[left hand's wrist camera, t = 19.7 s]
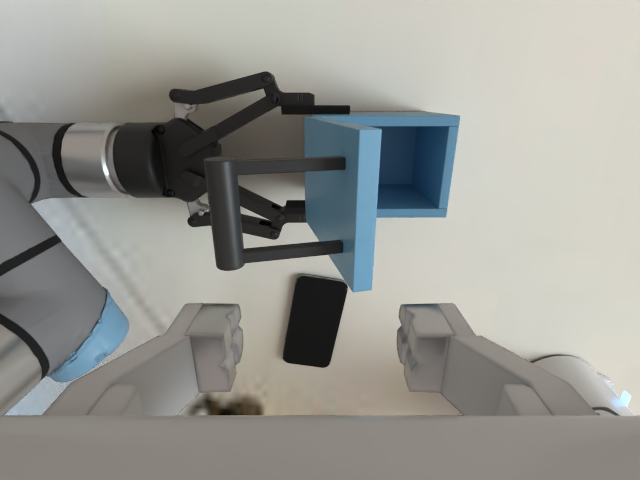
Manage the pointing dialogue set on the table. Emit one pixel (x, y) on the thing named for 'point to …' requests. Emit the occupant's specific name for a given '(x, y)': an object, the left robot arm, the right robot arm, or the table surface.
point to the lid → (309, 200)
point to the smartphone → (314, 320)
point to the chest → (411, 160)
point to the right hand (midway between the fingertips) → (347, 160)
